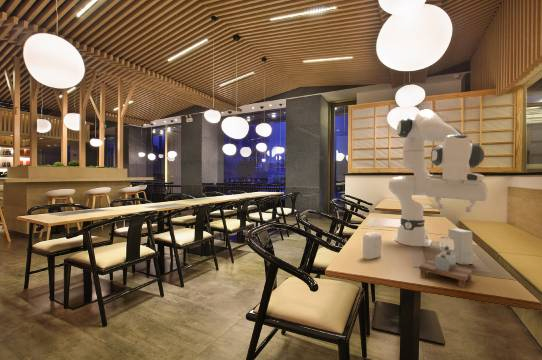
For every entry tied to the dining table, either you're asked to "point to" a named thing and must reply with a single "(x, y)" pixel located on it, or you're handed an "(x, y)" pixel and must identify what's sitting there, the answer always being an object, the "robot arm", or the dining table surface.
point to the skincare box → (462, 245)
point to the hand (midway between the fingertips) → (454, 210)
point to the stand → (456, 272)
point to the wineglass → (446, 244)
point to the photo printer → (371, 245)
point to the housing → (445, 261)
